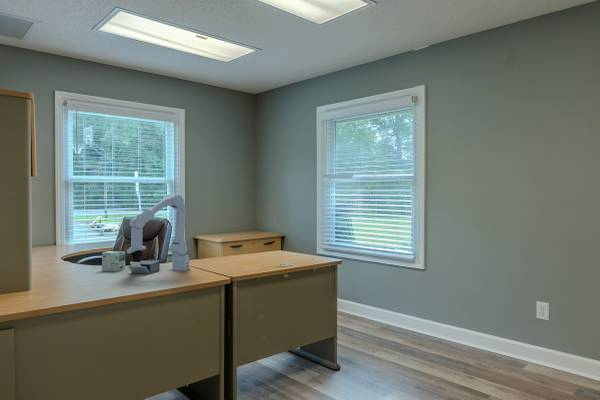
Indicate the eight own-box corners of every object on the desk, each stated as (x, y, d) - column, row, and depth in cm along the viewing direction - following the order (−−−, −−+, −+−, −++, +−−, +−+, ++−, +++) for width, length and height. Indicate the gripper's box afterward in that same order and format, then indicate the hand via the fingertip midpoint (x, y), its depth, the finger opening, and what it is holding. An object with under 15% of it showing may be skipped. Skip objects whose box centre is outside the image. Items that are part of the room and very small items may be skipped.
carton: (159, 271, 242) (159, 261, 242) (150, 274, 233) (150, 264, 233) (142, 270, 244) (142, 260, 244) (132, 273, 235) (133, 263, 235)
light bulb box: (125, 269, 244) (125, 251, 244) (119, 272, 237) (119, 252, 237) (107, 269, 245) (108, 250, 245) (101, 271, 239) (101, 252, 238)
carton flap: (149, 272, 232) (143, 262, 226) (149, 273, 232) (142, 263, 226) (132, 271, 235) (125, 261, 229) (132, 272, 234) (125, 262, 228)
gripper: (138, 237, 237) (138, 262, 237) (121, 240, 223) (121, 266, 223) (149, 238, 235) (149, 262, 236) (133, 241, 221) (133, 267, 221)
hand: (136, 264), depth 229 cm, fingers closed, pressing on carton flap
